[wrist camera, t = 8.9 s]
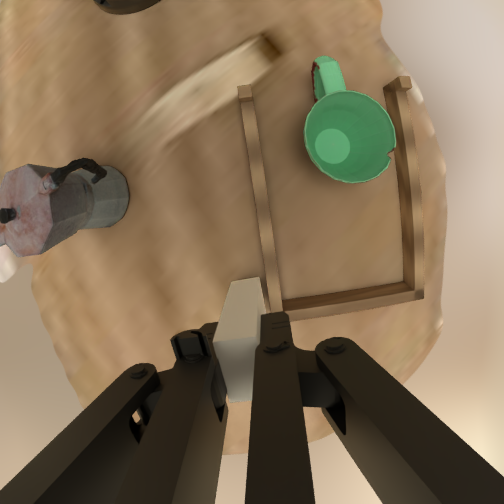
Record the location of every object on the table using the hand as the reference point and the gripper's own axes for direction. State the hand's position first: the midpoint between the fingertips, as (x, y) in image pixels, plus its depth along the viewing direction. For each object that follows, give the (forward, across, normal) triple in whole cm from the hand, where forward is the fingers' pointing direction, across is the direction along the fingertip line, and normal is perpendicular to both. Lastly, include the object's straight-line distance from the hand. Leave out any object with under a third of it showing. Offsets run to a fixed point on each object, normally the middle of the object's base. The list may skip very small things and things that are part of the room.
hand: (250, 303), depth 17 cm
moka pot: (+26, -20, +9) cm, 34 cm away
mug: (+26, +11, +11) cm, 31 cm away
